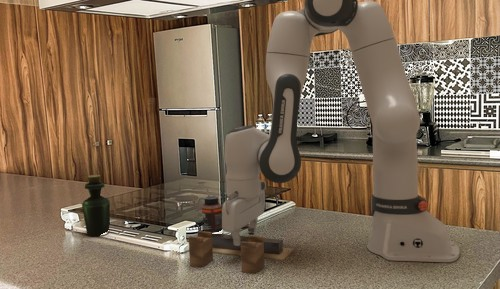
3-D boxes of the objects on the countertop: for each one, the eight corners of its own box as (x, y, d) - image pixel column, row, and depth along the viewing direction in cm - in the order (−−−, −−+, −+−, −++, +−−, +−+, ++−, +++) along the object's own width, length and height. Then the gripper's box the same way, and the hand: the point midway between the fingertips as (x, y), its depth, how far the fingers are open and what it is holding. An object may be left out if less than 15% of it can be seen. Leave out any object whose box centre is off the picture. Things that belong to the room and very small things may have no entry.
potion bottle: (84, 239, 151) (79, 179, 148) (84, 231, 158) (79, 175, 156) (112, 235, 153) (108, 176, 151) (111, 228, 161) (107, 172, 159)
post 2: (264, 265, 123) (263, 236, 122) (255, 273, 118) (254, 243, 118) (250, 264, 125) (249, 235, 124) (241, 271, 120) (240, 242, 119)
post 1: (213, 259, 129) (211, 232, 128) (202, 267, 124) (201, 238, 123) (200, 258, 130) (199, 231, 129) (190, 265, 125) (188, 237, 124)
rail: (283, 250, 132) (282, 239, 132) (279, 254, 129) (278, 243, 129) (214, 244, 140) (214, 233, 140) (209, 247, 137) (208, 236, 137)
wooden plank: (293, 250, 134) (293, 248, 134) (283, 260, 126) (283, 258, 126) (212, 242, 143) (212, 240, 143) (198, 251, 136) (198, 249, 136)
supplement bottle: (226, 232, 152) (224, 195, 151) (218, 238, 146) (217, 200, 145) (208, 231, 154) (206, 194, 153) (199, 237, 148) (197, 199, 147)
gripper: (237, 197, 122) (240, 253, 124) (268, 181, 141) (269, 229, 142) (214, 196, 125) (216, 250, 126) (247, 180, 143) (249, 227, 145)
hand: (245, 239), depth 134 cm, fingers open, 8 cm apart
